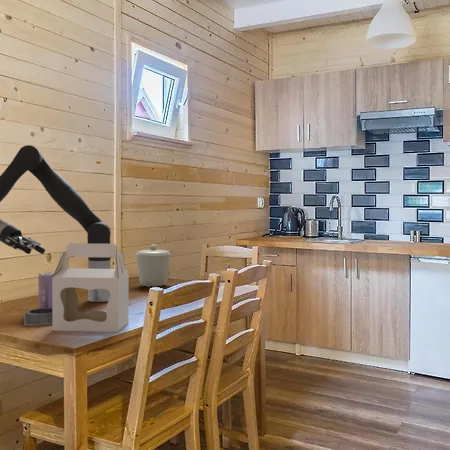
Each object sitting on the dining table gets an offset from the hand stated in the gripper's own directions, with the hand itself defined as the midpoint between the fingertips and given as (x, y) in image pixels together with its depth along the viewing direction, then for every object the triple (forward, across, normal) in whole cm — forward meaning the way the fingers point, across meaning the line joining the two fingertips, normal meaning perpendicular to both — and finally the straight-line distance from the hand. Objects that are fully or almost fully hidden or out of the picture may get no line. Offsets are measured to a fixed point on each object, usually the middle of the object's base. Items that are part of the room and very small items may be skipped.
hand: (37, 251), depth 202 cm
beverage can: (+16, -2, +18) cm, 24 cm away
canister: (+23, +71, +7) cm, 75 cm away
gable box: (+42, -17, +7) cm, 45 cm away
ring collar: (+23, -15, +16) cm, 31 cm away
